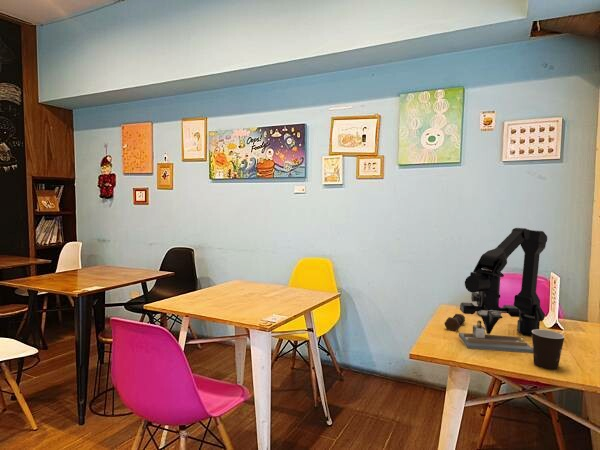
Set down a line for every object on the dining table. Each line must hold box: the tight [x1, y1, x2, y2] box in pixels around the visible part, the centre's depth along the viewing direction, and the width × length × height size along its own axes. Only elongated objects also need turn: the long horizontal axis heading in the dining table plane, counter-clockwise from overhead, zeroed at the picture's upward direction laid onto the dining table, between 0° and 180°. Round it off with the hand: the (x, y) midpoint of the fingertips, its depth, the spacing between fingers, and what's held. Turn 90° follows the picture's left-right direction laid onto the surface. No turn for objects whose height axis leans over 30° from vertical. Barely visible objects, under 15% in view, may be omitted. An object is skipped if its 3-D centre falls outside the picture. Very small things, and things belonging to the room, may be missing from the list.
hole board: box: [458, 332, 533, 354], centre depth 144 cm, size 21×13×2 cm, turn 81°
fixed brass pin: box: [518, 336, 526, 342], centre depth 142 cm, size 2×2×2 cm
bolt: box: [444, 313, 466, 332], centre depth 163 cm, size 6×5×15 cm
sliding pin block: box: [472, 320, 486, 339], centre depth 144 cm, size 3×4×6 cm
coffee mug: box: [531, 328, 565, 371], centre depth 126 cm, size 12×9×10 cm
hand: (488, 333), depth 144 cm, fingers closed
